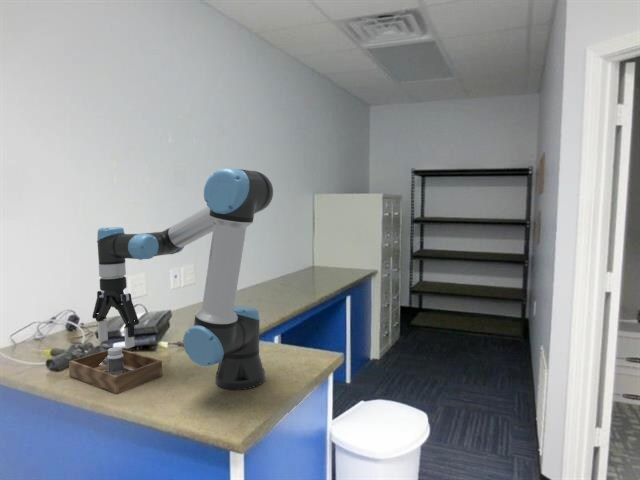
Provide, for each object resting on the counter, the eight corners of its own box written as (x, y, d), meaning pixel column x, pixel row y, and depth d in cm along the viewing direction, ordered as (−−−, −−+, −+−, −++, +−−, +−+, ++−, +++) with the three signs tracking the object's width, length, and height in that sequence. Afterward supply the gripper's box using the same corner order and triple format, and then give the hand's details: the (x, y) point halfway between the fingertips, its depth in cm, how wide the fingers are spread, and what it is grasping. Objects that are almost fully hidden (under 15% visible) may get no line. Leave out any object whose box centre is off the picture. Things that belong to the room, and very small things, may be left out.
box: (162, 376, 141) (161, 360, 141) (116, 394, 128) (115, 377, 127) (115, 361, 154) (115, 347, 154) (69, 376, 140) (68, 361, 140)
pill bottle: (126, 374, 141) (126, 348, 141) (112, 378, 138) (111, 352, 137) (119, 370, 144) (118, 345, 144) (104, 375, 140) (104, 349, 140)
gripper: (149, 277, 135) (152, 346, 136) (100, 272, 148) (103, 335, 150) (127, 281, 129) (130, 353, 130) (78, 275, 142) (81, 341, 143)
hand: (116, 344), depth 140 cm, fingers open, 13 cm apart
